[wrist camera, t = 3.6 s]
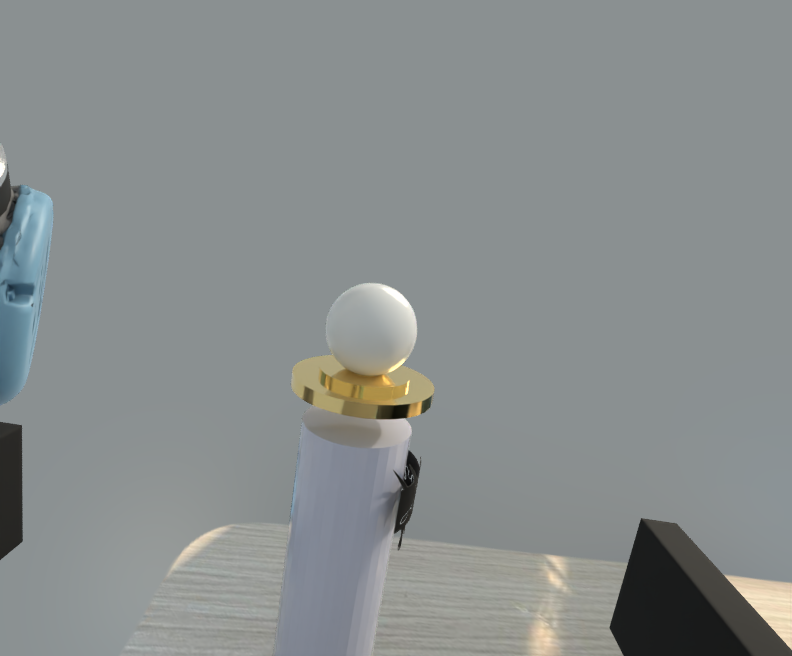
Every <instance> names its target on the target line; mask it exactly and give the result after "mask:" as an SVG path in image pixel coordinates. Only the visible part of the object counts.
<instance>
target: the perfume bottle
mask: <svg viewBox="0 0 792 656" xmlns="http://www.w3.org/2000/svg"><path fill="white" fill-rule="evenodd" d="M326 338H327V344H328V346H329V349H330V351H331V353H332V354H333V355H327V356H318V357H312V358H308V359H305V360H302V361H300V362H299V363H297V364H296V365H295V366H294V367H293V372H292V381H291V387H292V389H293V391H294V392H295V393H296V395H297V396H299V397H300V398H301V399H303V400H304V401H306V402H308V403H310V404H312V405H314V406H312V407H310V408H309V409H307V410H306V411H305V412H304V414H303V417H302V425H301V433H300V441H299V450H298V458H297V465H296V473H295V481H294V490H293V498H292V505H291V514H290V522H289V530H288V538H287V546H286V554H285V562H284V570H283V578H282V586H281V594H280V602H279V610H278V619H277V627H276V635H275V643H274V651H273V656H372V654H373V648H374V643H375V637H376V631H377V626H378V620H379V614H380V609H381V603H382V597H383V592H384V586H385V580H386V575H387V569H388V563H389V558H390V552H391V546H392V541H393V535H394V534H395V533H397V532H398V531H399V530H401V537H400V541H399V544H398V550H399V549H400V546H401V542H402V534H403V530H405V525H406V524H407V523H408V521H409V519H410V517H411V514H412V510H413V504H414V499H415V494H416V488H417V483H418V477H419V471H420V467H419V464H418V461H417V459H416V458H415V456H414V455H413V454H412V453H411V452H410V451H409V444H410V439H411V426H410V424H409V423H408V422H407V421H406V420H405V419H404V418H408V417H413V416H417V415H419V414H422V413H424V412H426V411H427V410H428V409H429V408H430V407H431V405H432V401H433V396H434V385H433V384H432V382H431V381H430V380H429V379H428V378H426V377H425V376H423V375H422V374H420V373H418V372H417V371H414V370H412V369H410V368H407V367H404V366H402V364H403V363H404V362H405V360H406V359H407V358H408V357H409V355H410V354H411V352H412V350H413V348H414V345H415V342H416V338H417V322H416V317H415V314H414V311H413V309H412V307H411V305H410V303H409V302H408V301H407V300H406V298H405V297H404V296H403V295H402V294H401V293H399V292H398V291H396V290H395V289H393V288H391V287H389V286H387V285H384V284H379V283H365V284H360V285H357V286H354V287H352V288H350V289H348V290H347V291H345V292H344V293H343V294H342V295H340V296H339V297H338V298H337V300H336V301H335V302H334V304H333V305H332V306H331V309H330V311H329V313H328V316H327V320H326ZM420 459H421V457H420ZM420 465H421V461H420ZM406 466H407V467H408V469H407V467H406ZM405 467H406V480H405V479H404V476H405ZM408 470H409V475H408ZM411 475H413V477H414V482H413V477H412V481H411V479H409V478H411ZM403 480H404V481H403ZM415 485H416V486H415ZM402 488H403V490H402V491H401V489H402ZM411 504H412V506H411ZM410 507H412V508H411V509H410ZM409 509H410V511H409ZM406 513H407V514H408V515H407V514H406ZM405 514H406V515H405ZM404 515H405V516H404ZM403 516H404V517H403ZM402 517H403V519H402ZM406 517H407V518H406ZM401 519H402V521H401ZM405 519H406V520H405ZM404 520H405V521H404ZM400 521H401V523H402V522H403V521H404V522H403V523H402V524H400Z"/></svg>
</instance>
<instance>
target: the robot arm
mask: <svg viewBox="0 0 792 656" xmlns="http://www.w3.org/2000/svg"><path fill="white" fill-rule="evenodd" d="M52 207H53V203H52V200H51V198H50V197H49V196H48V195H47V194H45V193H43V192H40V191H36V190H33V189H32V188H30V187H28V186H27V185H20V186H10V179H9V172H8V164H7V159H6V156H5V152H4V149H3V146H2V145H1V143H0V405H2V404H5V403H7V402H8V401H10V400H11V399H13V398H14V397H15V396H16V395H17V394H19V392H20V391H21V390H22V388H23V387H24V384H25V383H26V380H27V377H28V374H29V370H30V365H31V361H32V356H33V351H34V346H35V341H36V336H37V330H38V324H39V319H40V312H41V307H42V300H43V294H44V287H45V280H46V273H47V266H48V259H49V252H50V244H51V236H52V226H53V209H52ZM22 537H23V535H22V425H17V424H10V423H3V422H0V560H1V559H2V558H3V557H4V556H6V555H7V554H8V553H9V552H10V551H12V550H13V549H14V548H15V547H16V546H18V545H19V544H20V543H21V542H22V541H23V539H22ZM610 630H611V632H612V634H613V635H614V637H615V639H616V641H617V643H618V645H619V647H620V649H621V651H622V653H623V655H624V656H792V650H791V649H790V648H789V647H788V646H787V645H786V643H785V642H784V641H783V640H782V639H781V638H780V637H779V636H778V635H777V634H776V632H775V631H774V630H773V629H772V628H771V627H770V626H769V625H768V624H767V623H766V621H765V620H764V619H763V618H762V617H761V616H760V615H759V614H758V613H757V612H756V610H755V609H754V608H753V607H752V606H751V605H750V604H749V603H748V602H747V601H746V599H745V598H744V597H743V596H742V595H741V594H740V593H739V592H738V591H737V589H736V588H735V587H734V586H733V585H732V584H731V583H730V582H729V581H728V580H727V578H726V577H725V576H724V575H723V574H722V573H721V572H720V571H719V570H718V569H717V567H716V566H715V565H714V564H713V563H712V562H711V561H710V560H709V559H708V558H707V557H706V555H705V554H704V553H703V552H702V551H701V550H700V549H699V548H698V547H697V545H696V544H695V543H694V542H693V541H692V540H691V539H690V538H689V537H688V536H687V534H685V532H684V531H683V530H682V529H681V528H680V527H679V526H678V525H677V524H675V523H669V522H662V521H656V520H649V519H642V518H641V521H640V524H639V528H638V531H637V534H636V538H635V541H634V545H633V548H632V552H631V555H630V559H629V562H628V566H627V569H626V572H625V576H624V579H623V583H622V586H621V590H620V593H619V597H618V600H617V604H616V607H615V611H614V614H613V618H612V621H611V624H610Z"/></svg>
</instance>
